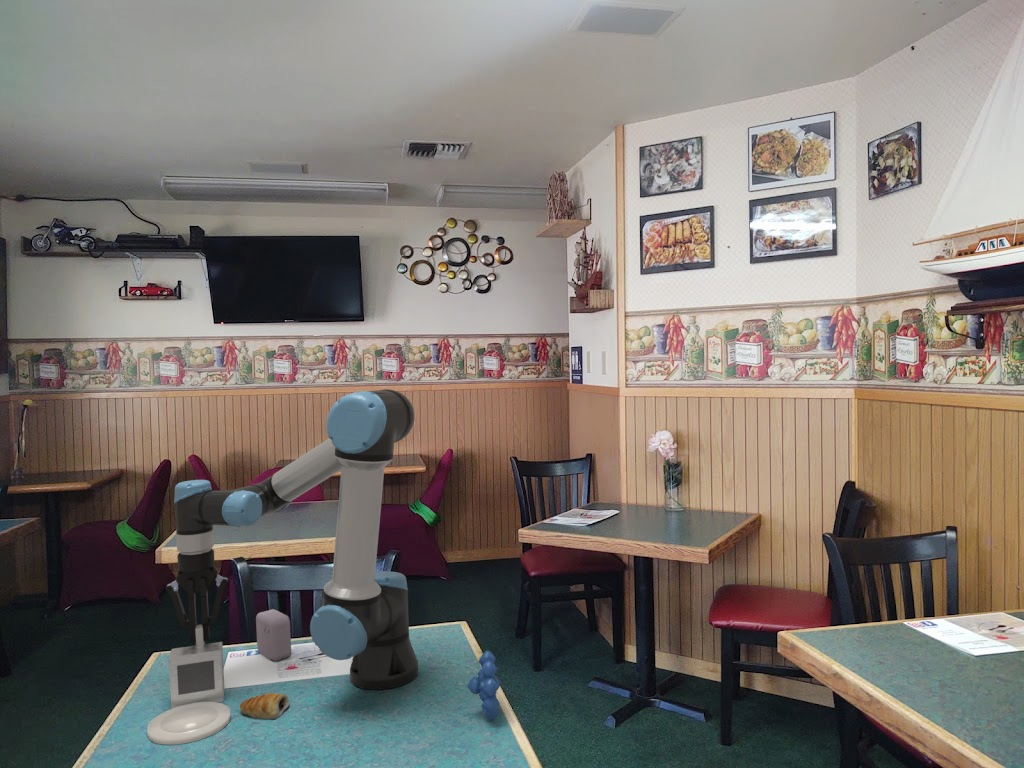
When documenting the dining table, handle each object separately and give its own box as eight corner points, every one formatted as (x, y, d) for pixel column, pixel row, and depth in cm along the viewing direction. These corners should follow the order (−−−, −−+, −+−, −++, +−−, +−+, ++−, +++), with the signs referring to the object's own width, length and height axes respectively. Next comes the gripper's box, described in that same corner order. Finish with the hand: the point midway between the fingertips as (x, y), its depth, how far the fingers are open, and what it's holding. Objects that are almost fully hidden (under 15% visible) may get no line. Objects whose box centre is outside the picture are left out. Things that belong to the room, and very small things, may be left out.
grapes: (466, 702, 152) (464, 644, 151) (499, 699, 152) (497, 641, 152) (469, 730, 140) (467, 667, 140) (505, 727, 141) (503, 664, 140)
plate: (245, 709, 152) (245, 703, 152) (200, 747, 137) (199, 740, 137) (180, 705, 155) (180, 699, 155) (129, 741, 141) (129, 734, 140)
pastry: (233, 719, 149) (232, 700, 149) (250, 704, 155) (249, 686, 155) (276, 721, 147) (276, 702, 147) (292, 706, 154) (291, 687, 154)
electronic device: (255, 652, 183) (253, 612, 183) (273, 647, 186) (271, 607, 186) (273, 663, 176) (271, 621, 175) (291, 658, 179) (289, 616, 179)
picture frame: (224, 691, 161) (222, 641, 161) (223, 702, 156) (220, 650, 156) (174, 699, 158) (171, 648, 158) (171, 710, 153) (168, 657, 153)
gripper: (228, 543, 170) (232, 645, 171) (165, 550, 166) (171, 654, 167) (226, 551, 163) (231, 657, 164) (161, 557, 159) (166, 666, 160)
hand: (200, 655), depth 166 cm, fingers closed
